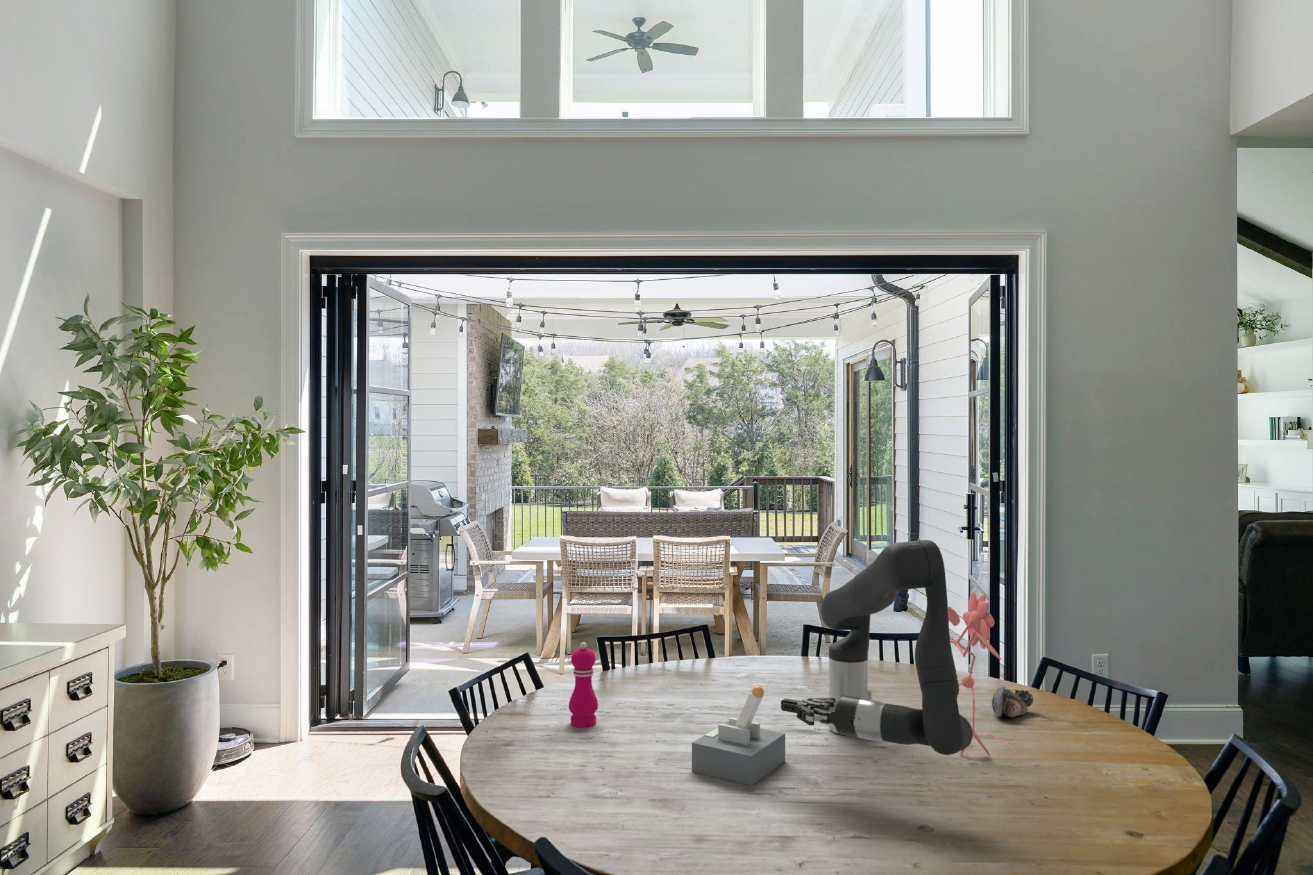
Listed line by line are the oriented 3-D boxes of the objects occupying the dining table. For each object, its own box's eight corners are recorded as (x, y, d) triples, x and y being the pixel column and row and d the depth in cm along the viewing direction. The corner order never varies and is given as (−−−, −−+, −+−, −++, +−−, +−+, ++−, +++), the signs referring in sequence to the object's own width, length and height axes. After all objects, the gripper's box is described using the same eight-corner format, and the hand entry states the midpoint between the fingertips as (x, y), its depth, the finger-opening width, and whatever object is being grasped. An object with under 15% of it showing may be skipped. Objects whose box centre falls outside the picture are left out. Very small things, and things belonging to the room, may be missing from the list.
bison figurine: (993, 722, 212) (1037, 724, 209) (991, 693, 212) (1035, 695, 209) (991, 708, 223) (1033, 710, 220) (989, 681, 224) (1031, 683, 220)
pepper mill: (593, 729, 206) (593, 646, 206) (564, 727, 207) (564, 644, 208) (601, 719, 213) (601, 639, 213) (573, 717, 215) (573, 638, 215)
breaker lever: (736, 730, 185) (758, 681, 182) (746, 737, 183) (768, 688, 180) (729, 734, 182) (751, 684, 179) (739, 741, 181) (762, 691, 178)
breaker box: (728, 748, 193) (728, 708, 193) (785, 761, 185) (785, 719, 185) (691, 771, 180) (691, 728, 180) (751, 785, 172) (751, 741, 172)
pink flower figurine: (974, 769, 180) (977, 603, 180) (924, 729, 206) (927, 583, 206) (1043, 768, 181) (1046, 603, 182) (985, 728, 207) (988, 584, 208)
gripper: (874, 691, 173) (795, 679, 182) (850, 707, 162) (768, 693, 171) (874, 728, 173) (795, 714, 182) (851, 747, 162) (768, 731, 171)
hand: (782, 704), depth 177 cm, fingers closed
